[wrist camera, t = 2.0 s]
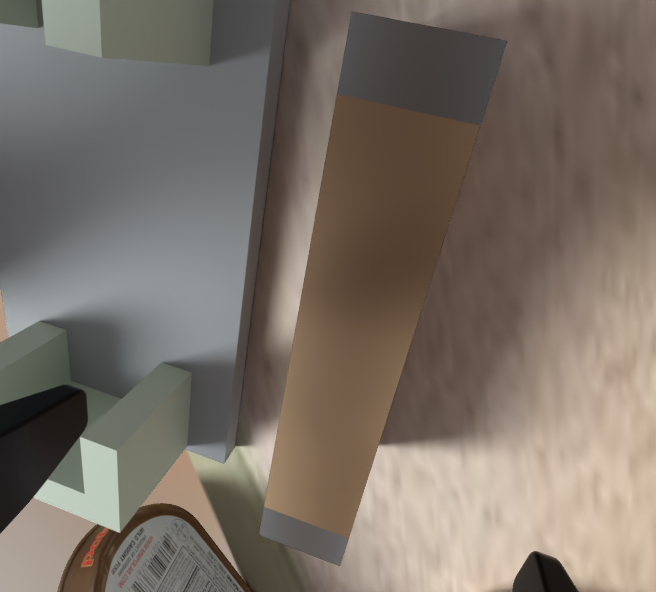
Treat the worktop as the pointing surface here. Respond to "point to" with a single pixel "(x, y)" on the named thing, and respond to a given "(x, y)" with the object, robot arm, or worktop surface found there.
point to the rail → (371, 262)
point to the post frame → (134, 225)
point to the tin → (151, 557)
